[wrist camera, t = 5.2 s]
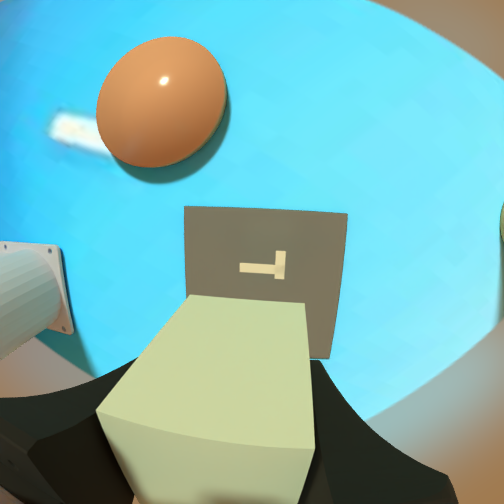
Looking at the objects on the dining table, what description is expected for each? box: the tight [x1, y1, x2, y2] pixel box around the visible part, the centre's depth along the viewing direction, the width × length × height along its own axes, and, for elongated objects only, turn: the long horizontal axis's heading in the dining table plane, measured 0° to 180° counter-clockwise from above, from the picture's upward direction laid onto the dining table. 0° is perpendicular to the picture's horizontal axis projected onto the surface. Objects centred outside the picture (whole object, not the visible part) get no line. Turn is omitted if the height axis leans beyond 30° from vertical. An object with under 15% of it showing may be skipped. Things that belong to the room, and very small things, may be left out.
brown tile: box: [184, 206, 348, 358], centre depth 19 cm, size 10×10×1 cm
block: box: [96, 295, 315, 504], centre depth 9 cm, size 4×4×7 cm
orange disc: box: [96, 37, 227, 168], centre depth 17 cm, size 9×9×1 cm
